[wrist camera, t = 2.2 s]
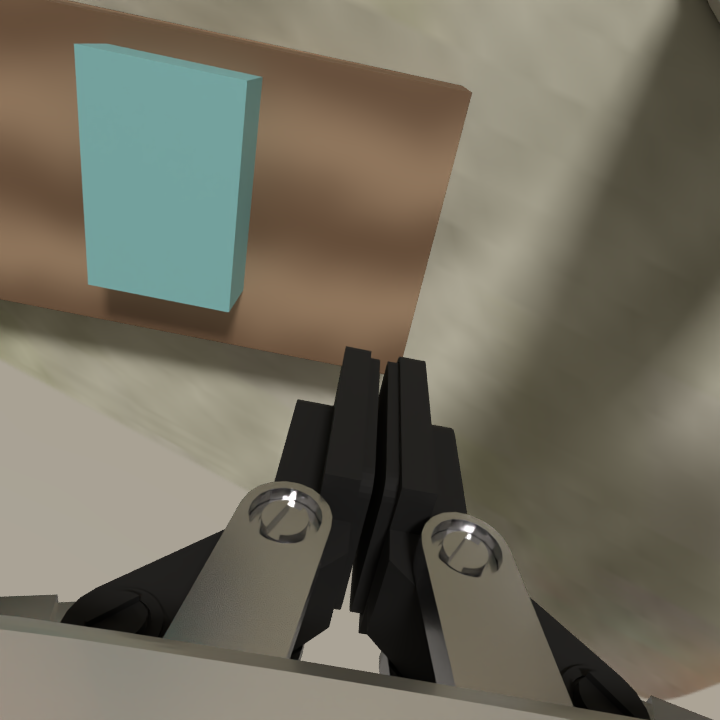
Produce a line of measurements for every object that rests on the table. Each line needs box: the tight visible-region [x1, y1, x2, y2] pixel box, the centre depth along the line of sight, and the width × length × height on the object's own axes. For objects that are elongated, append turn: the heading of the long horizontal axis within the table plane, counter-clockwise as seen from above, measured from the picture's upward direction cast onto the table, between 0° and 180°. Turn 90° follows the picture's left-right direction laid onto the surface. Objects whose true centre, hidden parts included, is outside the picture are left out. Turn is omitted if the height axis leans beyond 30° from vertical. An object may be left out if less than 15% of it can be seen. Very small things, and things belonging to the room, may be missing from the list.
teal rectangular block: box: [74, 44, 263, 312], centre depth 23 cm, size 9×6×2 cm, turn 169°
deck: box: [0, 0, 472, 374], centre depth 26 cm, size 13×22×4 cm, turn 79°
